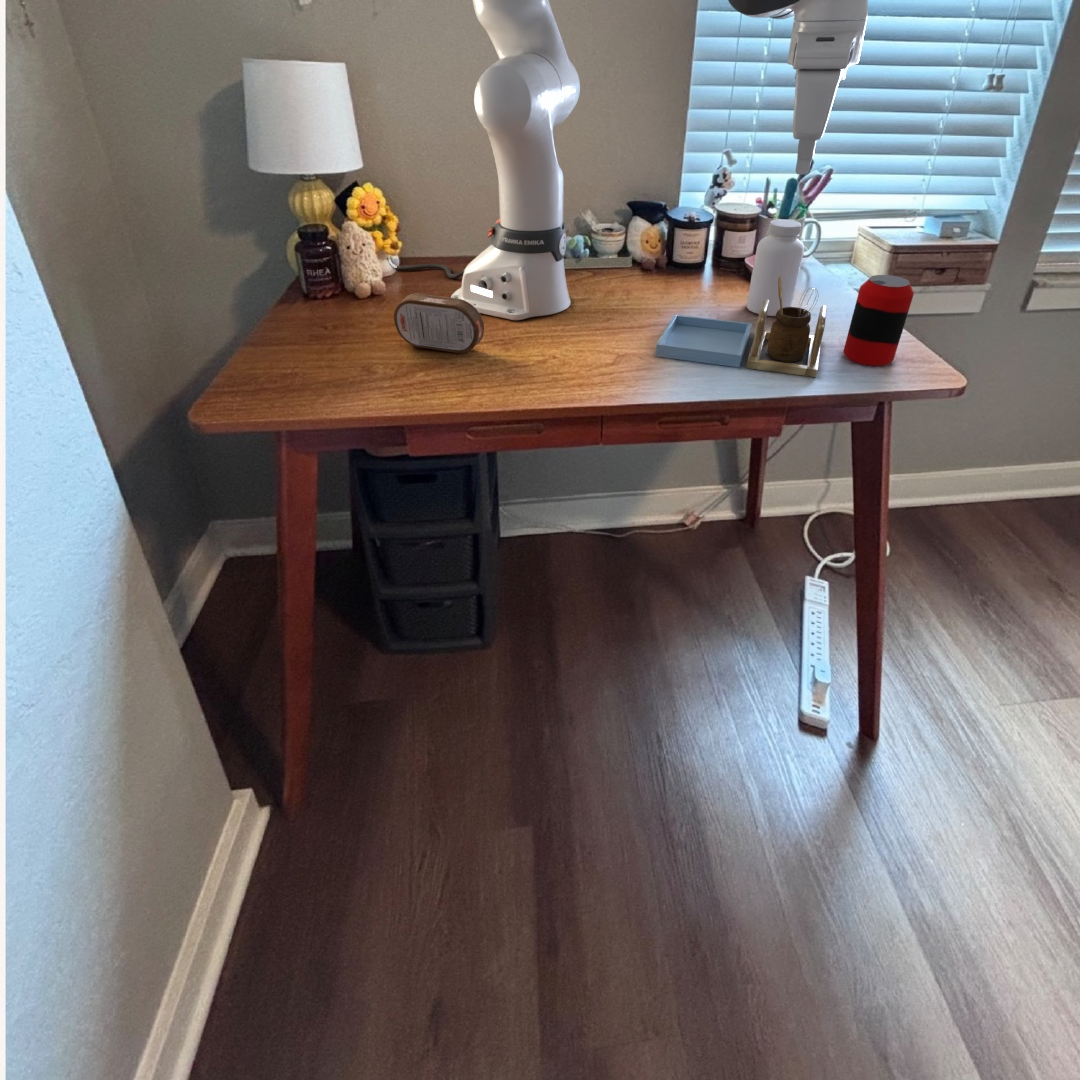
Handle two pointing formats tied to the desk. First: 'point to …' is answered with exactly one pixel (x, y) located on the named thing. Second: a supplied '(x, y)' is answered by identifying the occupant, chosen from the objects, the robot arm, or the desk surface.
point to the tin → (439, 323)
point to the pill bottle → (776, 266)
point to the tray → (704, 340)
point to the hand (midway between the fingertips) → (804, 167)
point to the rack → (782, 367)
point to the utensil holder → (789, 331)
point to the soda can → (878, 320)
